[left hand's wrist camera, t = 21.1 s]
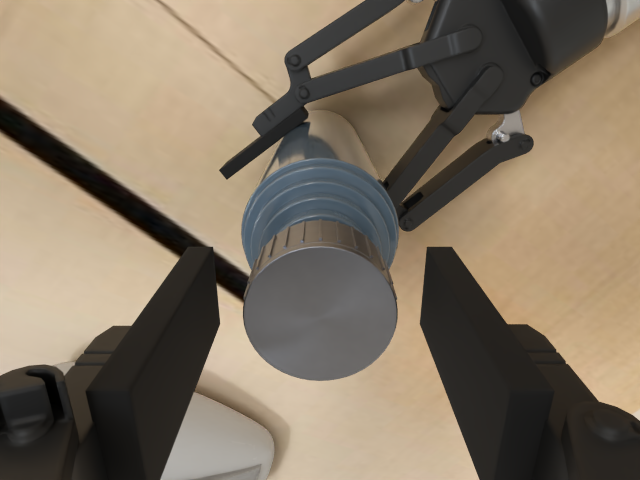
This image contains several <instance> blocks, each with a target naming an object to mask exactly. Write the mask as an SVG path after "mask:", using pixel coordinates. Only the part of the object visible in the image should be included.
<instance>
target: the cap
mask: <svg viewBox="0 0 640 480" xmlns="http://www.w3.org/2000/svg"><path fill="white" fill-rule="evenodd" d="M244 299H245V300H244V306H243V320H244V326H245V330H246V333H247V335H248V338H249V340H250V342H251V344H252V345H253V347H254V348H255V350H256V351H257V352H258V354H259V355H260V356H261V357H262V358H263V359H264V360H265V361H266V362H268V363H269V364H270V365H272V366H273V367H274V368H276V369H278V370H280V371H281V372H283V373H286V374H288V375H291V376H294V377H297V378H301V379H306V380H316V381H324V380H334V379H340V378H343V377H347V376H350V375H352V374H355V373H357V372H359V371H361V370H363V369H365V368H366V367H367V366H369V365H370V364H372V363H373V362H374V361H375V360H376V359H377V358H379V356H380V355H381V354H382V353H383V352H384V351H385V349H386V348H387V346H388V345H389V343H390V341H391V339H392V337H393V334H394V331H395V328H396V323H397V302H396V300H397V296H396V293H395V290H394V287H393V281H392V278H391V275H390V272H389V269H388V266H387V263H386V260H385V259H383V258H382V256H381V254H380V251H379V248H378V246H375V245H374V244H373V243H372V242H371V241H370V240H369V239H368V236H367V235H364V234H362V233H361V232H359V231H358V230H356V229H355V228H354V227H353V226H352V227H350V226H348V225H345V224H342V223H339V222H338V221H336V222H333V221H325V220H322V219H319V220H316V221H307V222H305V221H302V223H299V224H296V225H293V226H291V227H289V226H288V227H287V228H286V229H285V230H283V231H281V232H280V233H278V234H277V235H274V236H273V238H272V239H271V240H270V241H269V242H268V243H267V244H266V246H263V247H262V250H261V253H260V255H259V257H258V259H255V262H254V265H253V268H252V271H251V274H250V277H249V280H248V285H247V288H246V291H245V294H244Z"/></svg>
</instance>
